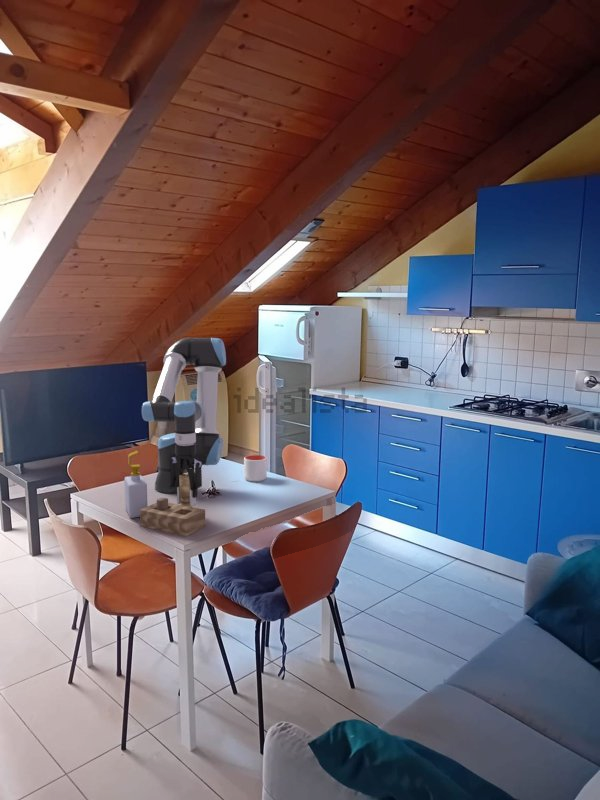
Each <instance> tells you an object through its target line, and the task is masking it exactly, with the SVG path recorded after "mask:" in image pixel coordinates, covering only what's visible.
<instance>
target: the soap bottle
mask: <svg viewBox="0 0 600 800" xmlns="http://www.w3.org/2000/svg"><path fill="white" fill-rule="evenodd" d="M138 454H139V451H138V450H135V451H133V452H130V453H129V454H128V455H127V462H128V463H127V464H128V467H130V470H132V472H130V476H125V477H124V502H125V503H124V505H125V506H124V507H125V509H126V511H127V513H128V514H127V515H128V516H129V518H131V519H135V518H140V510H141V509H143V508H146V507H148V506H149V505H148V483H147V482H146V480H145V479H144V477H143V475H141V472H140V471H138V470H139V469H140V468H141V465H140V464H139V463H138V464H131V457H132V456H136V455H138Z"/></svg>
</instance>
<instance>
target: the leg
mask: <svg viewBox="0 0 600 800" xmlns="http://www.w3.org/2000/svg"><path fill="white" fill-rule="evenodd" d="M179 488H180V497H181V504H180V505H183V506H189V507H191V506H190V489H191V484H190V480H189V476H188V473H183V474H181V475H179Z"/></svg>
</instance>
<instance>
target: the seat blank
mask: <svg viewBox="0 0 600 800" xmlns="http://www.w3.org/2000/svg"><path fill="white" fill-rule="evenodd" d="M139 518H140V520H139V521H140V527H143V528H148V529H153V530H157V531H161V532H167V533H170V534H176V535H179V536H184V537H188V536H190V535H191V534H194V533H196V532H197V531H199V530H201V529H203V528H205V527H206V509H204V508H199V507H194V506H192V507H189V506H183V505H181V504H177V503H174V502H173V503H172V502H169V499H168V498H166V497H159V498H157V499H156V502H155V503H153V504H151V505H150V504H149V505H148V507H146V508H143V509H141V510H140V517H139Z"/></svg>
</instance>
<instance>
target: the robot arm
mask: <svg viewBox="0 0 600 800" xmlns="http://www.w3.org/2000/svg"><path fill="white" fill-rule="evenodd" d="M226 353H227V352H226V347H225V344H224V341H223V339H221V338H218V337H184V338H182V339H179V340H177V341H176V342H174V343H173V344H172V345H170V347H169V348H167V350H166V352H165V354H164V357H163V359H162V360H163V366H162V369H161V373H160V375H159V377H158V381H157V384H156V387H155V389H154V392H153V396H152V398H151V401H144V402H143V403H142V405H141V417H142V419H143V421H145V422H152V423H156V422H159V423H162V422H163V423H174V432H173V433H168V434H163V435H162V436H160V437H159V438H158V441H157V443H158V444H157V451H158V452H157V455H158V457H157V458H158V472H157V475H156V479H155V483H154V489H155V491H157V492H159V493H166V494H175V495H176V497H177V498H176V499H177V501H176V502H177V503H176V504H178V505H181V497H180V488H179V475H181V474H183V473H188V476H189V480H190V484H191V489H190V506H191V507H194V506H196V504H197V497H198V489H199V488H202V487H203V479H202V478H203V476H202V473H203V471H202V466H216V465H218V464H219V462H220V460H221V458H222V453H223V450H224V449H223V448H224V447H223V446H224V443H223V442H224V439H223V438H222V437H220V433H219V431H218V430H217V410H218V409H217V407H218V406H217V405H218V386H219V385H218V383H219V380H218V379H219V373H220V372H221V371H222V370H223V367H224V366H226V365H227V355H226ZM186 366H193V368H194V370H195V372H197V383H196V386H197V387H196V401H195V400H178V401H176V402H174V401H173V398H174V395H175V392H176V389H177V386H178V383H179V380H180V377H181V374H182V371H183V370H185V368H186Z"/></svg>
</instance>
